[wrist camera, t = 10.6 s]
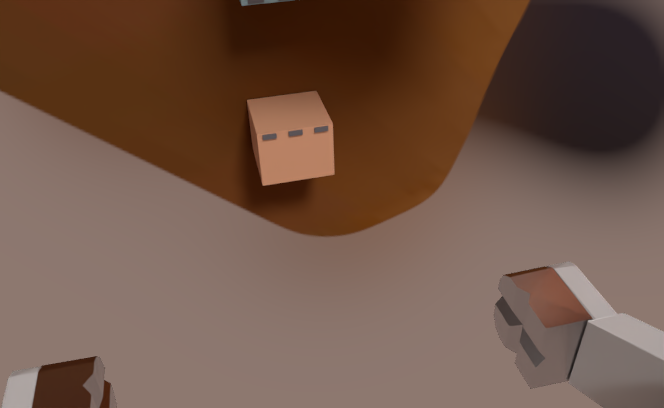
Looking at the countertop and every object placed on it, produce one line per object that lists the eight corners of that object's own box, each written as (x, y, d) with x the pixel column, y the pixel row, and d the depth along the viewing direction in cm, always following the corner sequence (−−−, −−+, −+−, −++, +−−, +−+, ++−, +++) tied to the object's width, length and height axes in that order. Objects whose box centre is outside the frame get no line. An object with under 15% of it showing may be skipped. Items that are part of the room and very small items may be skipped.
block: (252, 148, 46) (262, 187, 41) (246, 99, 43) (257, 135, 39) (318, 138, 46) (334, 175, 42) (316, 90, 44) (333, 124, 40)
